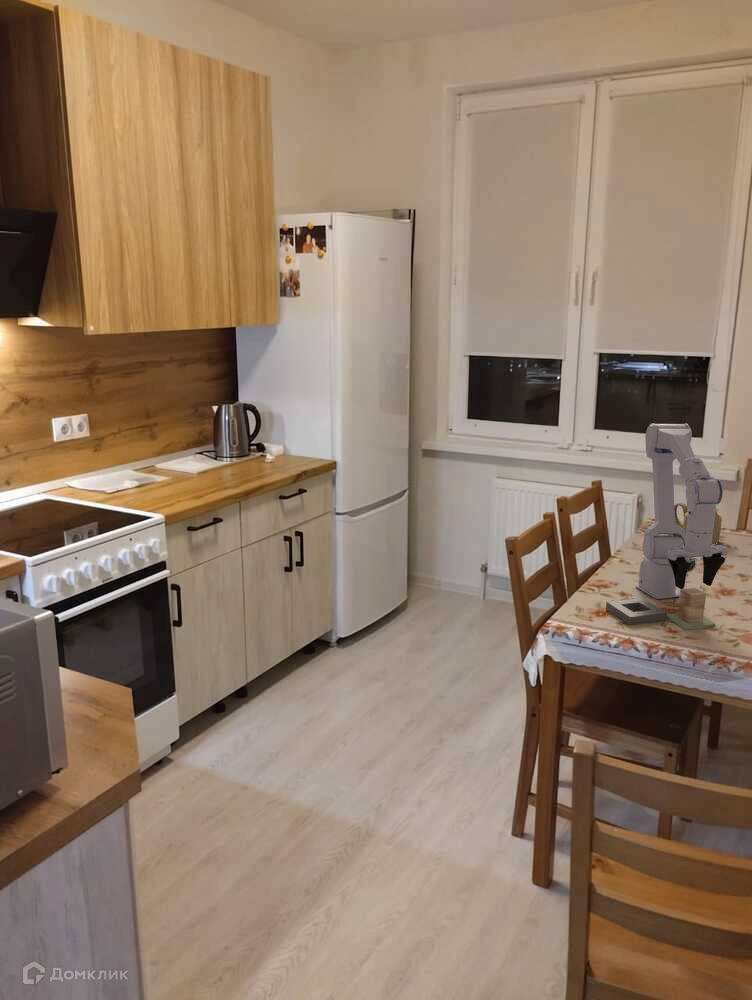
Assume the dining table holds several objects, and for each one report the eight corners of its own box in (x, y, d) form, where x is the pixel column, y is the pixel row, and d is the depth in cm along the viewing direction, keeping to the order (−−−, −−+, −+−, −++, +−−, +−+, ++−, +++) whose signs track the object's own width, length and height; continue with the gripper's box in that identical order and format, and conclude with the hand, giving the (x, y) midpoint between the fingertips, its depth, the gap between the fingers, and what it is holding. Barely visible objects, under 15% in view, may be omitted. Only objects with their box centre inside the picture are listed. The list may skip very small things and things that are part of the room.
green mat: (664, 616, 187) (664, 614, 187) (692, 613, 189) (692, 611, 189) (686, 629, 179) (686, 627, 179) (715, 626, 182) (715, 623, 181)
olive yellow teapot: (667, 541, 247) (672, 495, 243) (670, 532, 256) (675, 488, 253) (718, 547, 241) (724, 500, 237) (719, 538, 250) (724, 493, 247)
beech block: (677, 616, 185) (680, 589, 183) (691, 615, 186) (694, 587, 185) (688, 623, 181) (691, 595, 180) (702, 621, 183) (706, 593, 181)
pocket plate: (605, 609, 191) (606, 601, 191) (641, 605, 194) (641, 597, 193) (629, 624, 182) (630, 617, 181) (666, 620, 185) (666, 612, 184)
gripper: (684, 537, 173) (678, 595, 176) (738, 532, 177) (731, 588, 180) (664, 529, 180) (658, 584, 183) (716, 524, 183) (710, 578, 187)
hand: (693, 586), depth 182 cm, fingers open, 7 cm apart
